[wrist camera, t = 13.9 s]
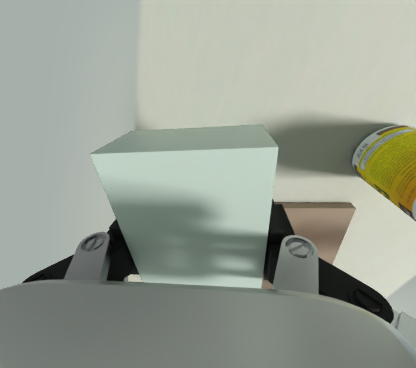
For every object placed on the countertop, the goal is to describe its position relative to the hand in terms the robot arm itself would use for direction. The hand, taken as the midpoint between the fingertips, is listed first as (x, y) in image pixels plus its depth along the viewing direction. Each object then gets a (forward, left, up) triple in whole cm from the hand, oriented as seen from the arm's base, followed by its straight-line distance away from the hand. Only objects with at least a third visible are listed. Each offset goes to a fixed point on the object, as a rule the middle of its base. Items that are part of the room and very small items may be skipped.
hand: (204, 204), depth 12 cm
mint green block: (0, 0, +1) cm, 1 cm away
